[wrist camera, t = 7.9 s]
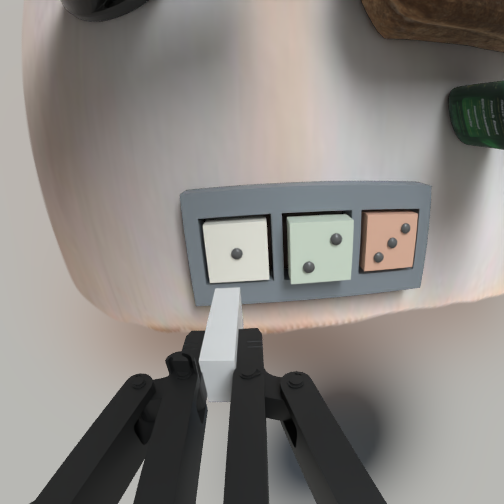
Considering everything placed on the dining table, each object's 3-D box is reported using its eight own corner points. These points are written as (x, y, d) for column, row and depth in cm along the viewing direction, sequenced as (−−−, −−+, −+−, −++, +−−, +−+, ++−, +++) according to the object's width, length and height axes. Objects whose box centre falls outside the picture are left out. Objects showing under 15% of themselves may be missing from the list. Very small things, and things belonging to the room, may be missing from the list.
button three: (356, 262, 32) (365, 272, 29) (359, 209, 30) (368, 215, 27) (402, 258, 31) (413, 267, 29) (407, 208, 29) (418, 214, 27)
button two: (288, 273, 30) (291, 285, 28) (286, 216, 28) (289, 223, 26) (343, 269, 30) (351, 280, 28) (345, 214, 28) (354, 220, 26)
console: (200, 293, 34) (195, 306, 31) (186, 190, 30) (179, 194, 27) (409, 277, 33) (420, 287, 31) (418, 181, 29) (431, 185, 26)
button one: (212, 272, 32) (209, 283, 29) (206, 219, 30) (202, 226, 27) (268, 269, 32) (269, 280, 29) (265, 215, 30) (266, 221, 27)
